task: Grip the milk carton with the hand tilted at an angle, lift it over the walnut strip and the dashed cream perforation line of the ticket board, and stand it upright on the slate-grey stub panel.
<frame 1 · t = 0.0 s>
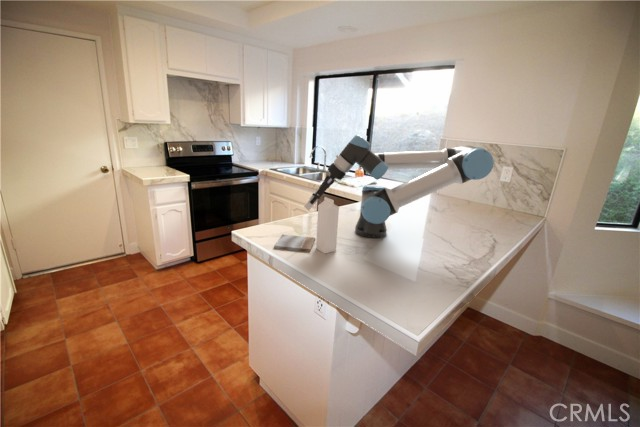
hand: (309, 204, 134), 15 cm above the countertop, tool tilted 35°, fingers open, 13 cm apart
ticket board: (295, 244, 129), on the countertop
milk: (325, 250, 126), on the countertop
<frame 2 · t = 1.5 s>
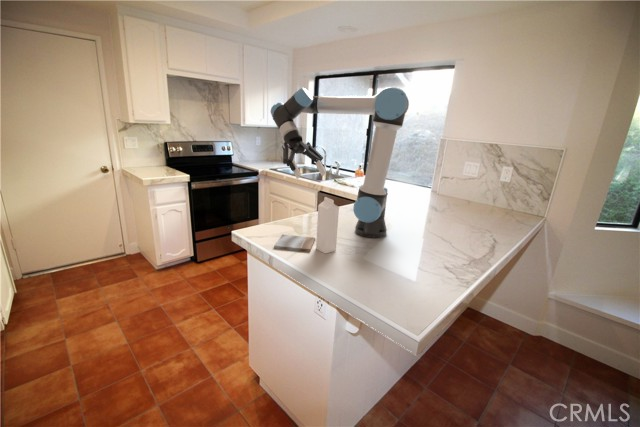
hand: (312, 175, 124), 29 cm above the countertop, tool tilted 45°, fingers open, 13 cm apart
nothing on the countertop moved.
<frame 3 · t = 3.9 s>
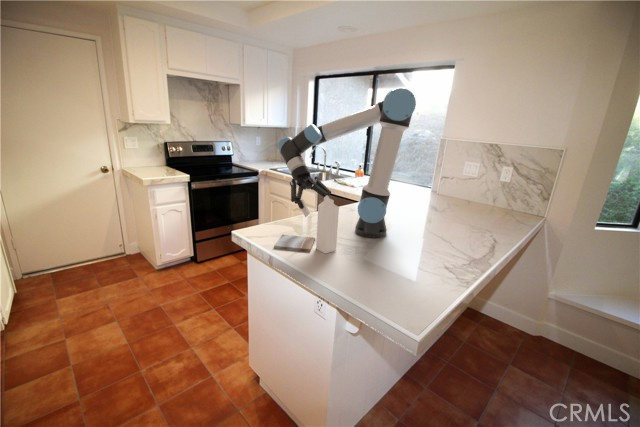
hand: (320, 212, 123), 15 cm above the countertop, tool tilted 45°, fingers open, 13 cm apart
nothing on the countertop moved.
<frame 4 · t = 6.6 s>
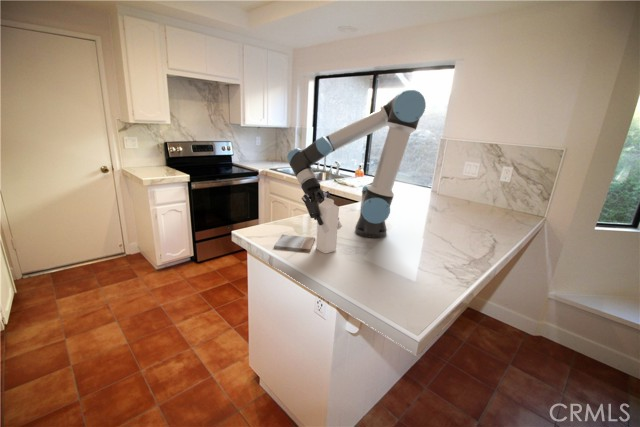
hand: (333, 229, 120), 10 cm above the countertop, tool tilted 45°, fingers closed on milk, 6 cm apart
milk: (326, 250, 126), on the countertop, touching gripper
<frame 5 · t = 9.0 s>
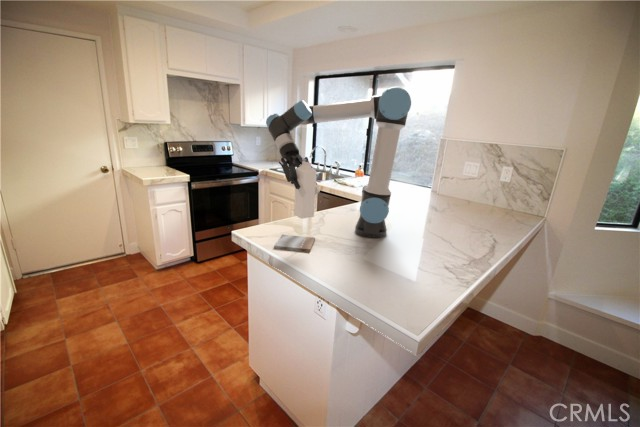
hand: (310, 194, 119), 23 cm above the countertop, tool tilted 45°, fingers closed on milk, 6 cm apart
milk: (303, 216, 124), point 13 cm above the countertop, touching gripper
when the fingers open (13 cm above the countertop, at t = 11.8 s): milk drops 1 cm, resting on ticket board.
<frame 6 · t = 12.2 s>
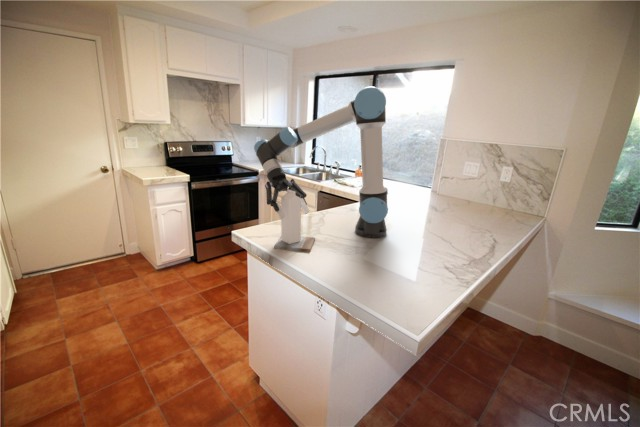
hand: (295, 215, 124), 14 cm above the countertop, tool tilted 45°, fingers open, 12 cm apart
milk: (290, 241, 130), point 1 cm above the countertop, touching ticket board
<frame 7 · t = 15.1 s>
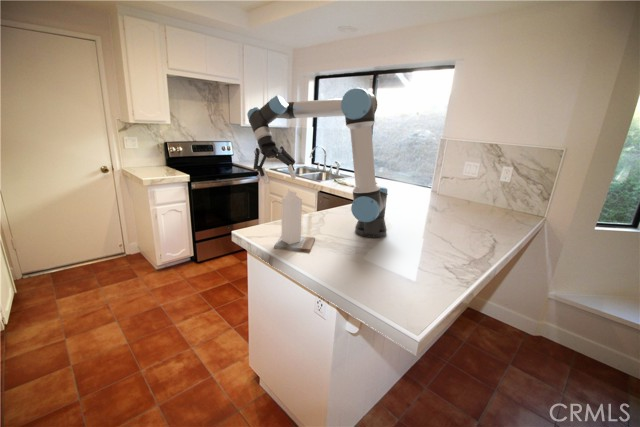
hand: (281, 180, 133), 25 cm above the countertop, tool tilted 40°, fingers open, 13 cm apart
nothing on the countertop moved.
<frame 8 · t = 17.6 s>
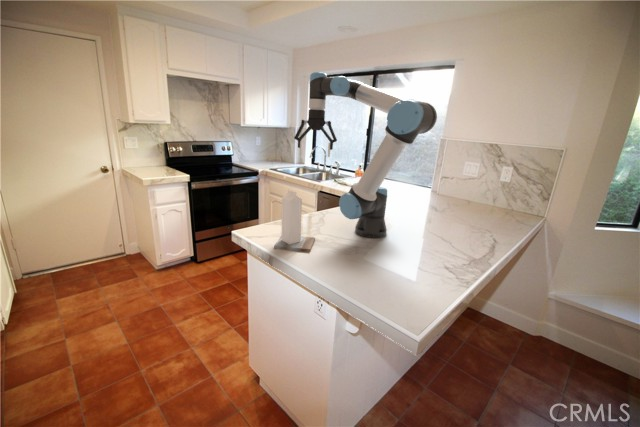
hand: (314, 155, 146), 35 cm above the countertop, tool pointing down, fingers open, 13 cm apart
nothing on the countertop moved.
at the end: milk 0.2 cm from the target spot, point 1.0 cm above the countertop; milk tilted 0°; the gripper is holding nothing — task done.
